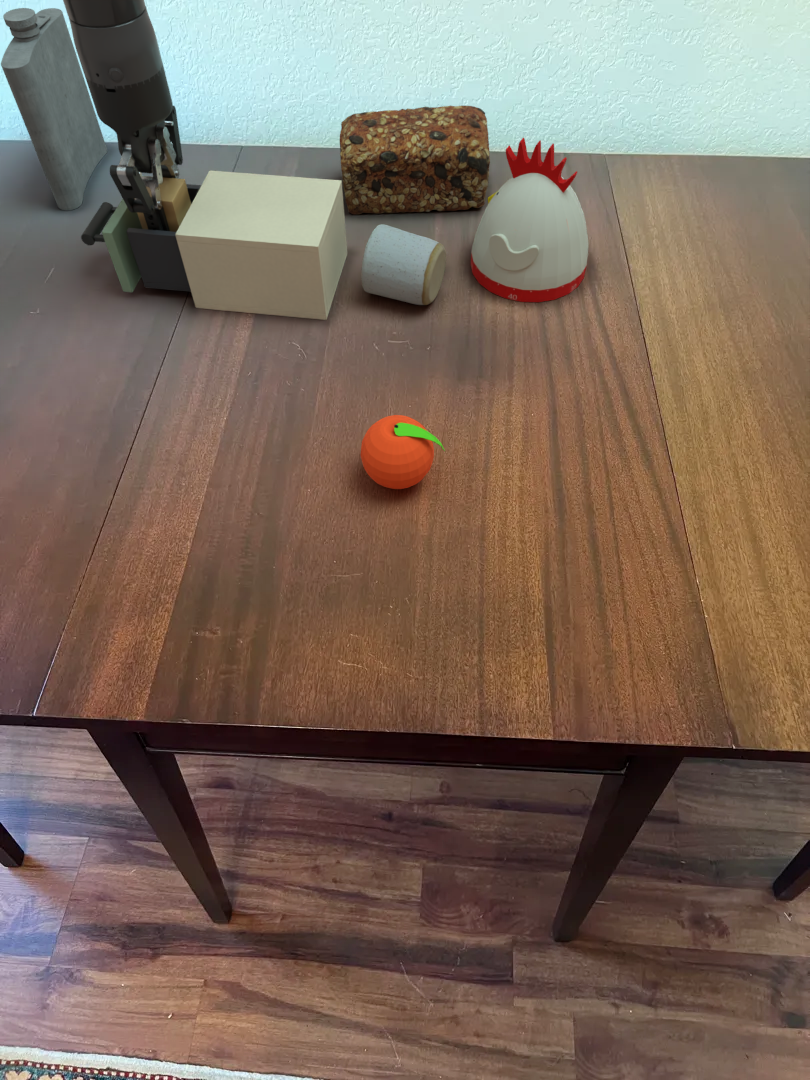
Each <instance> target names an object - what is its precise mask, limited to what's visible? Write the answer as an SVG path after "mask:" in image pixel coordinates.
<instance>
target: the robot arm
mask: <svg viewBox="0 0 810 1080" xmlns="http://www.w3.org/2000/svg"><path fill="white" fill-rule="evenodd" d="M62 1H63V4H64V8H65V11H66V14H67V17H68V20H69V24H70V29H71V34H72V38H73V43H74V44H73V45H74V48H75V51H76V54H77V55H78V56H77V58H78V61H79V64H80V67H81V70H82V73H83V76H84V79H85V82H86V85H87V86H88V87H87V88H88V91H89V94H90V97H91V100H92V103H93V106H94V109H95V112H96V115H97V118H98V119H99V121H101V122H102V123H103V124H104V125H106V126H107V127H109V128H110V129H111V130H113V132H115V134H116V139H117V146H118V148H117V149H118V152H119V154H120V156H121V157H120V160H119V163H118V164H111V165H110V166H109V175H110V177H111V179H112V181H113V183H114V185H115V187H116V188H117V190H118V193H119V194H120V196H121V198H122V199H123V200H124V202H125V204H126V205H127V207H128V209H129V211H130V212H133V213H136V212H138V213H143V214H144V217H145V220H146V224H147V227H148V230H160V231H170V229H169V226H168V222H167V219H166V215H165V212H164V208H163V206H162V201H161V195H160V188H159V187H160V185H162V183H163V178H162V177H165V178H178V179H180V170H179V167H178V166H182V165H183V163H184V158H183V152H182V151H183V150H182V144H181V138H180V137H181V136H180V129H179V122H178V115H177V109H176V106H175V105H173V104H174V103H173V98H172V94H171V91H170V87H169V84H168V80H167V79H168V78H167V74H166V71H165V67H164V63H163V59H162V54H161V51H160V47H159V42H158V38H157V34H156V32H155V28H154V26H153V24H152V20H151V18H150V15H149V13H148V9H147V6H146V3H145V2H146V1H145V0H62ZM143 174H152V176H151V177H146V176H147V175H143ZM146 187H149V188H150V189H151V194H152V197H150V195H149V192H148V190H147V188H146ZM134 198H135V199H134Z"/></svg>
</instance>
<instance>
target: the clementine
mask: <svg viewBox="0 0 810 1080" xmlns="http://www.w3.org/2000/svg"><path fill="white" fill-rule="evenodd" d="M434 443H435V444H437V446H440V448H441V449H442V450H443V451H444V452H446V450H445V448H444V446H443V444H442V442H441V441H440V440H439V439H438V438H437V437H436V436H435V435H433V434H432V433H431V432H429V431H428V429H426V428H425V425H423V424H421V422H419V421H418V420H416V419H414V418H412V417H410V416H407V415H402V414H394V415H393V414H392V415H388V416H387V415H386V416H385V417H383V418H380V419H379V420H377V421H376V422H374V423H373V424H372V425H371V426H370V427H369V428H368V429H367V431H365V434H364V436H363V437H362V441H361V447H360V460H361V463H362V466H363V469H364V470H365V471H364V472H366V473H367V476H369V477H370V479H371V480H373V481H374V482H375V483H376V484H378V485H379V486H381V487H384V488H387V489H392V490H402V489H407V488H410V487H412V486H415V485H418V483H420V482H421V481H422V480H423V479H424V478H425V477H426V476H427V474H428V473H429V472H430V470H431V468H432V466H433V462H434V458H435V447H434Z"/></svg>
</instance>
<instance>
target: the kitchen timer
mask: <svg viewBox="0 0 810 1080" xmlns="http://www.w3.org/2000/svg"><path fill="white" fill-rule="evenodd" d="M517 146H518V147H517V153H516V154H515V152H514V150H513V149H512V147H511V145H508V146H507V147H506V149H505V156H506V160H507V163H508V167H509V169H510V172H511V176H512V177H510V178H509V179H508V180H506V181H505V183H503V184H502V186H500V188H499V189H498V190H497V191H496V192H494V193H492V194H491V195H490V196H488V197H487V205H486V207H485V210H484V212H483V214H482V216H481V218H480V221H479V224H478V226H477V229H476V232H475V234H474V239H473V243H472V246H471V251H470V269H471V273H472V275H473V277H474V278H475V279H476V281H477V283H478V284H479V285H480V286H482V287H483V288H485V289H486V290H487V291H488V292H490V293H492V294H494V295H496V296H499V297H501V298H504V299H507V300H510V301H515V302H520V303H542V302H548V301H549V302H550V301H555V300H557V299H559V298H563V297H565V296H568V295H570V294H571V293H572V292H573V291H575V290H576V289H577V288H578V287H579V286H580V284H581V283H582V281H583V280H584V278H585V275H586V271H587V266H588V258H589V257H588V256H589V236H588V228H587V222H586V221H587V220H586V216H585V213H584V210H583V208H582V204H581V201H580V199H579V197H578V196H577V194H576V192H575V189H574V188H573V187H572V186H571V184H572V182H573V181H574V180H575V178H576V176H577V174H578V171H577V170H576V171H575V172H574V173H573V174H572V175H571V176H569V177H568V178H566V179H565V178H564V177H563V176H562V172H563V170H564V167H565V165H566V163H567V159H568V158H567V156H565V157H563V158H562V160H560V161H559V163H558V164H557V165H555V143H552V144H551V145H550V147H549V148H548V150H547V151H546V153H545V157H544V159H543V161H542V140H539V141H538V142H537V143H536V144H535V146H534V148H533V151H532V154H531V157H529V156H528V149H527V144H526V140H525V137H522V138H521V140H520V141H519V142H518V145H517Z"/></svg>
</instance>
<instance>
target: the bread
mask: <svg viewBox="0 0 810 1080" xmlns="http://www.w3.org/2000/svg"><path fill="white" fill-rule="evenodd" d="M340 126H341V129H340V133H339V150H340V151H339V156H340V157H339V158H340V171H341V178H342V188H343V192H344V199H345V204H346V207H347V212H348V213H349V214H351V215H354V216H355V215H362V214H364V213H365V214H383V213H386V214H397V213H415V212H416V213H423V212H427V213H428V212H431V211H433V210H435V211H438V212H445V211H448V212H449V211H454V212H455V211H459V210H461V211H466V210H470V209H471V208H473V209H474V208H475V209H479V208H482V207H484V206H485V202H486V196H487V190H488V187H489V178H490V165H491V159H490V158H491V157H490V140H489V128H488V118H487V116H486V112H485V111H484V110H483V109H482V108H481V107H477V106H473V105H445V106H444V105H443V106H436V107H434V106H433V107H431V106H423V107H416V108H406V109H405V108H401V109H399V110H398V109H392V110H391V109H388V110H378V111H375V110H374V111H363V112H358V113H353V114H351V115H349V116H347V117H346V118H345V119H343V120H342V122H341V123H340Z"/></svg>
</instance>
